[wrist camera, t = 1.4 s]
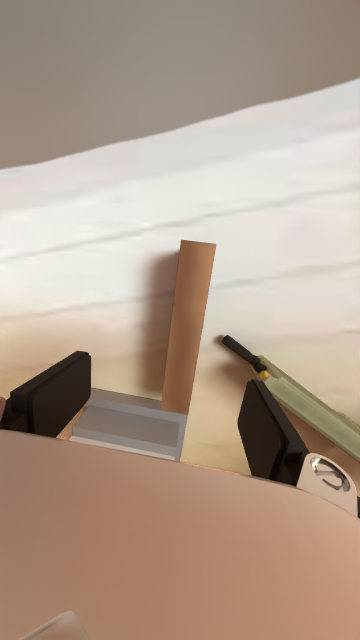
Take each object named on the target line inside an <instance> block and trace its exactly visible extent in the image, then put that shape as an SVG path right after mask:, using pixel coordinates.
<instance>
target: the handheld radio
mask: <svg viewBox="0 0 360 640" xmlns="http://www.w3.org/2000/svg"><path fill="white" fill-rule="evenodd" d="M222 343H223V344H225V345H226V346H227V347H229V348H230V349H231V350H233V351H234V352H235V353H237V354H238V355H239V356H241V357H242V358H243V359H246V360H247V361H248V362H249V363H250V368H251V369H252V371H253V373H254V374H255V376H256V377H257V379H258V380H260V381H263V382H264V383H265V385H266V386H267V388H268V389H269V391H270V392H271V394H272V395H273V397H274V398H275V399H276V400H277V401H278V402H279V403H280V405H282V406H283V407H285V408H286V409H287V410H289V411H290V412H291V413H293V414H294V415H295V416H297V417H298V418H300V419H301V420H302V421H304V422H305V423H306V424H308V425H309V426H310V427H312V428H313V429H314V430H317V431H318V432H319V433H321V434H322V435H323V436H325V437H326V438H327V439H329V440H330V441H332V442H333V443H334V444H336V445H337V446H338V447H340V448H341V449H342V450H344V451H345V452H346V453H348V454H349V455H350V456H352V457H353V458H355V459H356V460H357V461H359V462H360V426H358V425H357V424H356V423H354V422H353V421H352V420H350V419H349V418H348V417H346V416H345V415H344V414H342V413H340V412H335V411H334V410H333V409H331V408H330V407H329V406H328V405H326V404H325V403H324V402H322V401H321V400H320V399H318V398H317V397H316V396H314V395H313V394H312V393H310V392H309V391H308V390H307V389H305V388H304V387H303V386H301V385H300V384H299V383H297V382H296V381H295V380H293V379H292V378H291V377H289V376H288V375H287V374H285V373H284V372H283V371H282V370H280V369H279V368H278V367H276V366H275V365H274V364H272V363H271V362H270V361H268V360H267V359H266V358H264V357H263V356H257V357H256V356H255V355H253V354H251V353H250V351H248V350H247V349H246V348H244V347H243V346H242V345H240V344H239V343H238V342H236V341H235V340H234V339H233V338H231V337H230V336H229V335H226V336H225V337H224V338H223V340H222Z"/></svg>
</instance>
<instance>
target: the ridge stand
mask: <svg viewBox="0 0 360 640" xmlns="http://www.w3.org/2000/svg"><path fill="white" fill-rule="evenodd" d="M161 402H162V401H159V400H153V399H148V398H143V397H137V396H132V395H127V394H121V393H116V392H111V391H105V390H100V389H95V388H91V395H90V398H89V400H88V401H87V402H86V404H85V405H84V413H83V414H82V415H81V417H80V418H79V419H78V420H77V421H76V422H75V424H74V425H73V426H72V436H71V438H70V439H69V441H74V442H80V443H85V444H91V445H96V446H102V447H107V448H112V449H118V450H123V451H128V452H134V453H139V454H144V455H149V456H155V457H160V458H165V459H170V460H175V461H180V457H181V451H182V445H183V440H184V434H185V428H186V422H187V416H188V414H182V413H177V412H171V411H166V410H161Z"/></svg>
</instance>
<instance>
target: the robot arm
mask: <svg viewBox="0 0 360 640" xmlns="http://www.w3.org/2000/svg"><path fill="white" fill-rule="evenodd" d="M90 395H91V356H90V355H89V353H88V352H82V351H76V352H75V353H73V354H71V355H70V356H68V357H66V358H65V359H63V360H62V361H60V362H58V363H57V364H55V365H53V366H52V367H50V368H49V369H47V370H45V371H44V372H42V373H40V374H39V375H37V376H36V377H34V378H32V379H31V380H29V381H28V382H26V383H24V384H23V385H21V386H19V387H18V388H16V389H15V390H13V391H11V392H10V398H9V399H7V400H6V399H5V398H3V397H0V640H360V498H359V497H358V496H357V490H356V486H355V484H354V482H353V480H352V479H351V478H350V476H349V475H348V474H347V473H346V472H345V471H344V470H343V469H342V468H341V467H340V466H339V465H337V464H336V463H335V462H333V461H332V460H330V459H328V458H326V457H325V456H322V455H319V454H315V453H310V452H309V451H308V449H307V448H306V445H305V444H304V442H303V441H302V439H301V438H300V436H299V435H298V433H297V431H296V430H295V428H294V427H293V425H292V424H291V422H290V421H289V419H288V418H287V416H286V415H285V413H284V412H283V410H282V409H281V407H280V406H279V404H278V403H277V401H276V400H275V398H274V397H273V395H272V394H271V392H270V391H269V389H268V388H267V386H266V385H265V383H264V382H263V381H260V380H254V379H252V380H251V382H250V381H248V383H247V386H246V390H245V394H244V398H243V402H242V405H241V409H240V413H239V417H238V429H239V432H240V436H241V439H242V443H243V446H244V450H245V453H246V457H247V460H248V464H249V467H250V470H251V474H252V476H250V475H245V474H240V473H236V472H231V471H226V470H221V469H216V468H211V467H206V466H201V465H196V464H191V463H185V462H180V461H175V460H170V459H165V458H160V457H155V456H149V455H144V454H139V453H134V452H128V451H123V450H118V449H112V448H107V447H102V446H96V445H91V444H85V443H80V442H74V441H69V440H63V439H58V438H56V437H57V436H58V435H59V433H60V432H61V431H62V430H63V429H64V428H65V427H66V425H67V424H68V423H69V422H70V421H71V420H72V419H73V417H74V416H75V415H76V414H77V413H78V412H79V411H80V409H81V408H82V407H83V406H84V405H85V404H86V402H87V401H88V400H89V398H90Z"/></svg>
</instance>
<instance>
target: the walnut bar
mask: <svg viewBox="0 0 360 640" xmlns="http://www.w3.org/2000/svg"><path fill="white" fill-rule="evenodd" d="M215 249H216V244H212V243H204V242H195V241H187V240H181V245H180V253H179V262H178V270H177V278H176V286H175V295H174V303H173V311H172V319H171V328H170V336H169V344H168V353H167V361H166V369H165V377H164V386H163V394H162V402H161V410H166V411H171V412H177V413H182V414H188V412H189V406H190V400H191V394H192V388H193V382H194V376H195V370H196V364H197V358H198V352H199V346H200V340H201V334H202V328H203V322H204V316H205V310H206V304H207V298H208V292H209V286H210V280H211V274H212V268H213V261H214V255H215Z"/></svg>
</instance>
